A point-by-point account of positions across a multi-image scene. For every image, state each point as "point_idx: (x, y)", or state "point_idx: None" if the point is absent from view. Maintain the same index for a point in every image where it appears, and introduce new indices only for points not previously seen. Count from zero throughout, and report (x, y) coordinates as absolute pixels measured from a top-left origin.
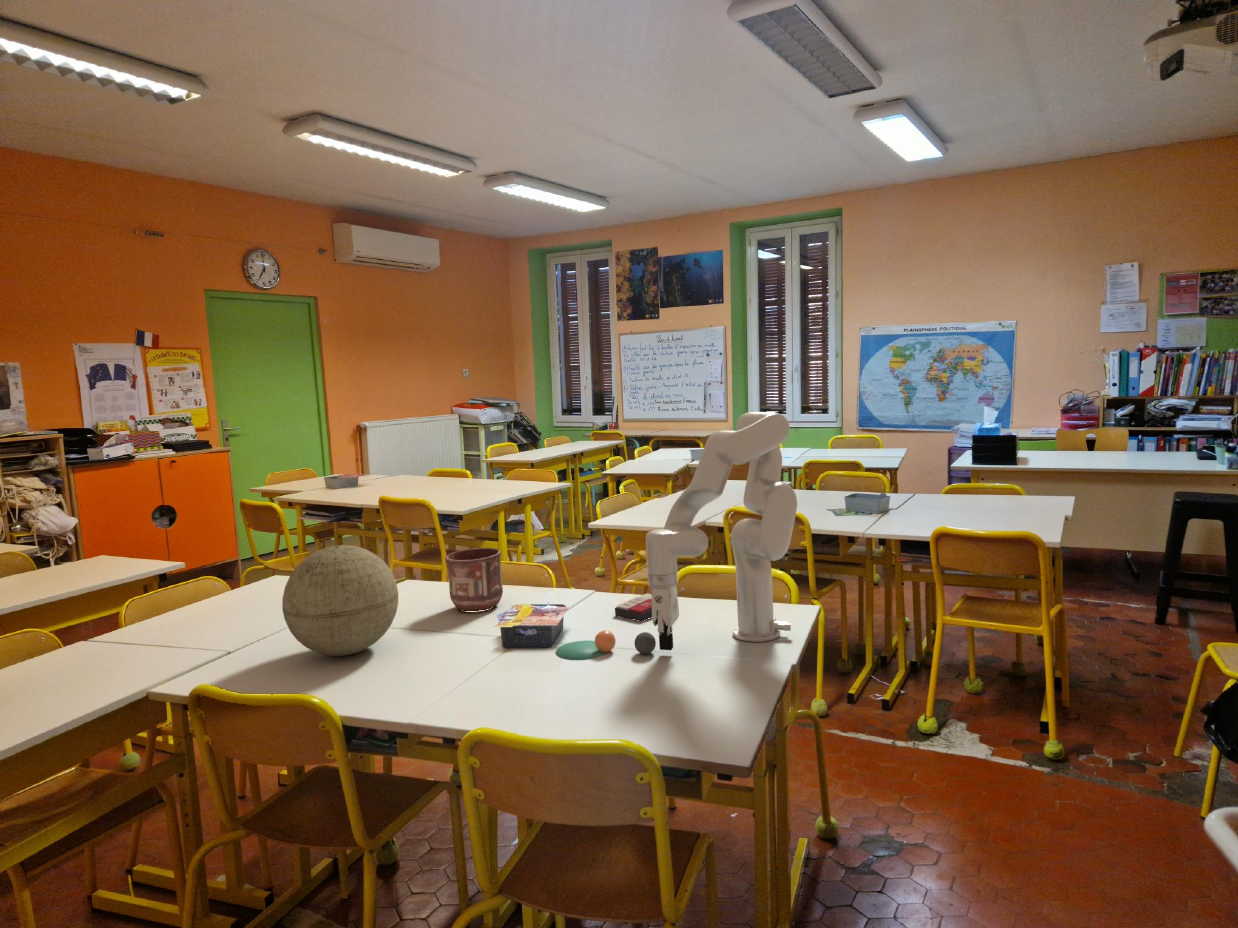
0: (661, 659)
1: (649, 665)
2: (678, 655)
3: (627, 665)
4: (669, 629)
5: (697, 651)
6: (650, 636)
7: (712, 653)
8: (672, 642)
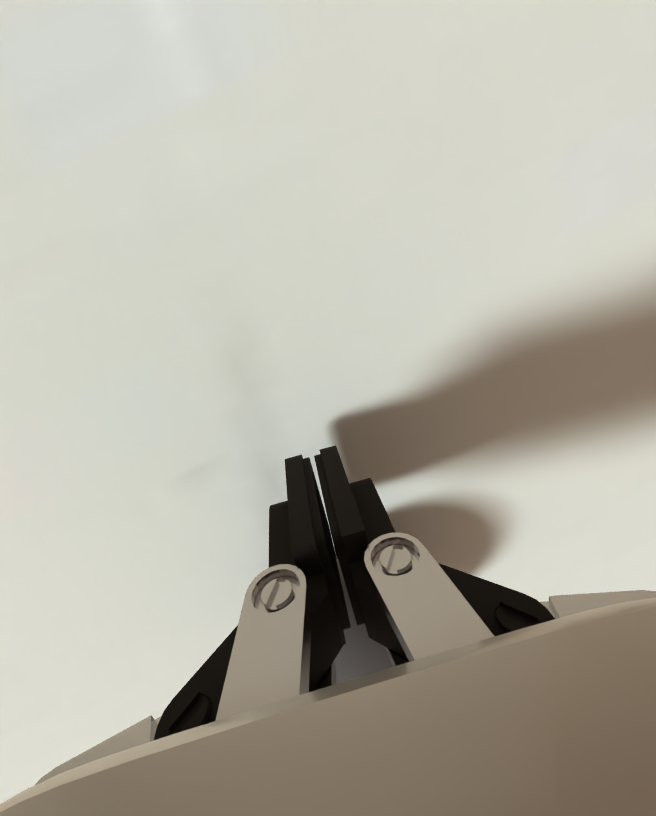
0: (411, 451)
1: (523, 464)
2: (299, 385)
3: (540, 558)
4: (408, 598)
5: (139, 278)
6: (387, 662)
7: (102, 89)
8: (307, 480)
